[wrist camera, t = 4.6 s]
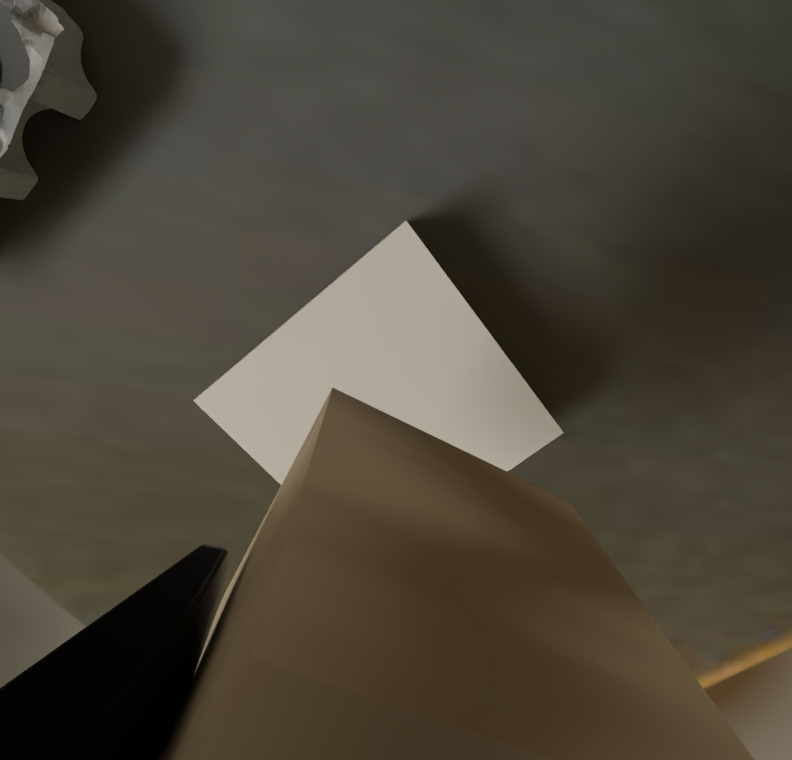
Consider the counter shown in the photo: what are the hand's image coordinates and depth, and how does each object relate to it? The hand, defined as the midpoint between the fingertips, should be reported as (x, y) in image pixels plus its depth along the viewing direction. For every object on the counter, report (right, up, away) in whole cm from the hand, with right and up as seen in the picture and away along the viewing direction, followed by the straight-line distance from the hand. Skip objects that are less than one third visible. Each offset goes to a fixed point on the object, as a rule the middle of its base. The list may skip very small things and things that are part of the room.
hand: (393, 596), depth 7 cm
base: (0, +3, +10) cm, 10 cm away
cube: (0, 0, +1) cm, 1 cm away
